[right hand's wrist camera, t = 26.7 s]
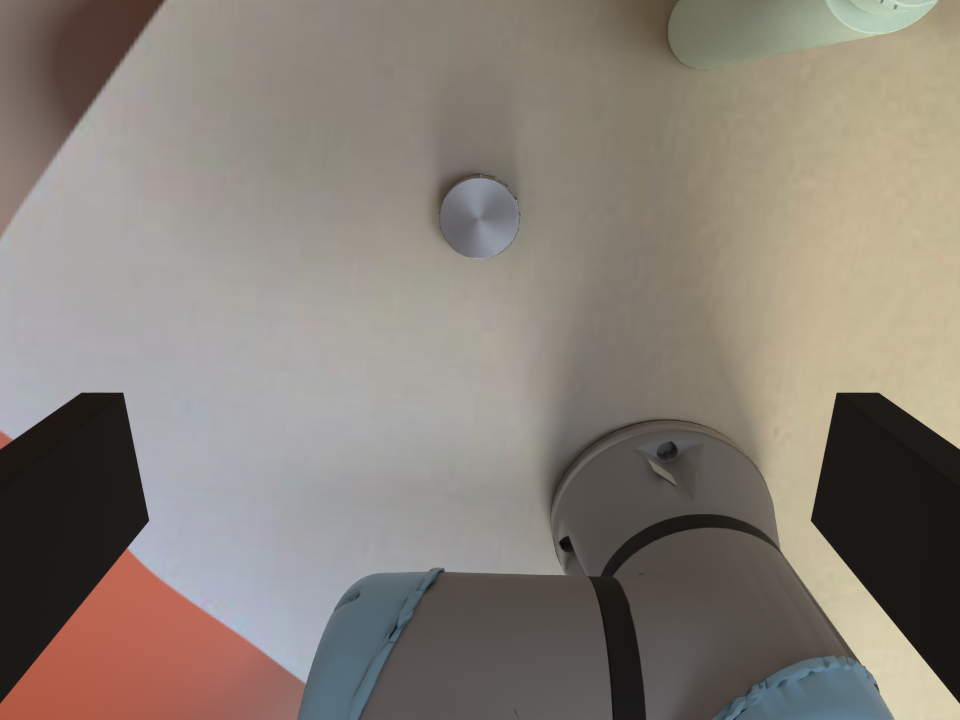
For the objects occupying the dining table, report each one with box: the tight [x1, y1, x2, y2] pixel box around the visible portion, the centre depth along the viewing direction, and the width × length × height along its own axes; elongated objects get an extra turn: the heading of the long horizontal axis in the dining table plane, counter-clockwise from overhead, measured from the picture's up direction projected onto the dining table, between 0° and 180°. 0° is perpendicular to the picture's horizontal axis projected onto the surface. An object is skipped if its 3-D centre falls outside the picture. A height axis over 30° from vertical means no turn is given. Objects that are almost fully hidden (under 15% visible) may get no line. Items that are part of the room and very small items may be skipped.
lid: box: [439, 173, 521, 259], centre depth 40 cm, size 5×5×2 cm
